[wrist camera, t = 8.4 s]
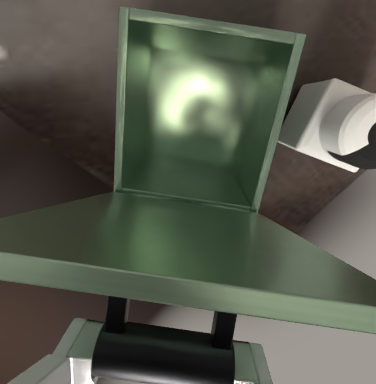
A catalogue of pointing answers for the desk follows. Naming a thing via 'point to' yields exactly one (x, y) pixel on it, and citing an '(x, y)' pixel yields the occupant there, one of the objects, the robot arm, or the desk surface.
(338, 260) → the lid
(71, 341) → the robot arm
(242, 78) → the green open box
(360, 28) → the desk surface
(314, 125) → the medicine bottle
